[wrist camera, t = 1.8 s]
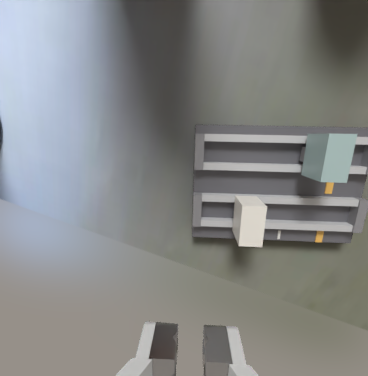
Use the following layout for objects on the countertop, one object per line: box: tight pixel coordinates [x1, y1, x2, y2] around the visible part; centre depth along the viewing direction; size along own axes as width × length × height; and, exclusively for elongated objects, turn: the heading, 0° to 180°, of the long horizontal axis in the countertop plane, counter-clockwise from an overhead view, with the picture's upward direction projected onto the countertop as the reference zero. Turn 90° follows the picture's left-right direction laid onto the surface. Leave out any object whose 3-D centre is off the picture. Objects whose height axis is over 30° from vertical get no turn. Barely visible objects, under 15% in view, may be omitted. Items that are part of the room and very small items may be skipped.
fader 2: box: [300, 133, 357, 183], centre depth 21 cm, size 2×4×5 cm, turn 179°
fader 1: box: [232, 196, 267, 247], centre depth 23 cm, size 2×4×5 cm, turn 179°
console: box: [192, 125, 368, 243], centre depth 25 cm, size 20×14×3 cm
